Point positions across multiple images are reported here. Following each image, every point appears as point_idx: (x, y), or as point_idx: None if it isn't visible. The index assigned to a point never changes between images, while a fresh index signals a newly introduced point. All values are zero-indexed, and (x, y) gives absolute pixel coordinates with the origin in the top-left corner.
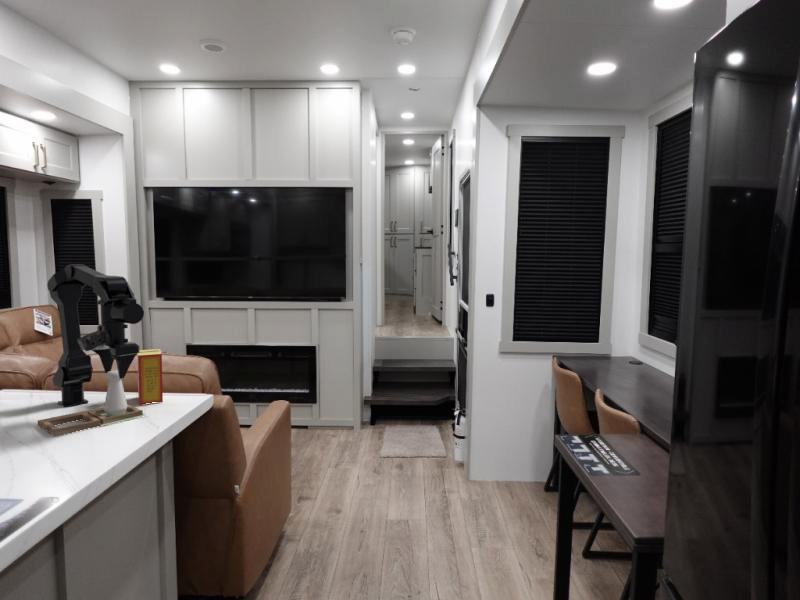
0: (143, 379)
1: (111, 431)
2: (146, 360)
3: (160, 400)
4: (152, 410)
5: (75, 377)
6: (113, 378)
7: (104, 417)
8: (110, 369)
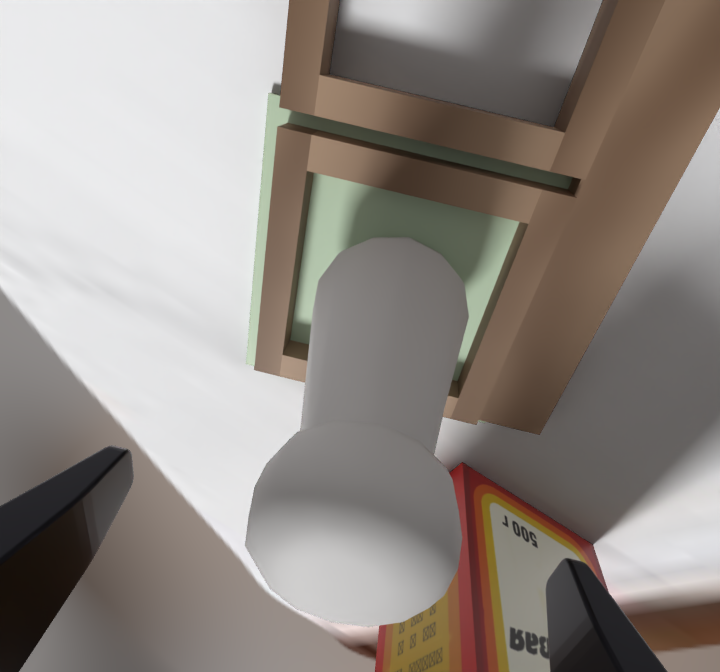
0: (451, 631)
1: (125, 70)
2: None
3: None
4: None
5: None
6: (283, 452)
7: (322, 168)
8: (552, 636)
